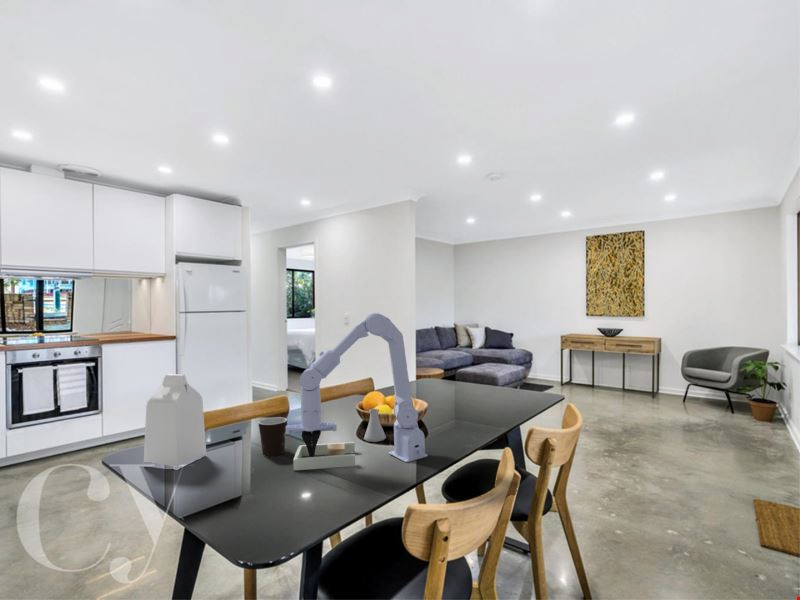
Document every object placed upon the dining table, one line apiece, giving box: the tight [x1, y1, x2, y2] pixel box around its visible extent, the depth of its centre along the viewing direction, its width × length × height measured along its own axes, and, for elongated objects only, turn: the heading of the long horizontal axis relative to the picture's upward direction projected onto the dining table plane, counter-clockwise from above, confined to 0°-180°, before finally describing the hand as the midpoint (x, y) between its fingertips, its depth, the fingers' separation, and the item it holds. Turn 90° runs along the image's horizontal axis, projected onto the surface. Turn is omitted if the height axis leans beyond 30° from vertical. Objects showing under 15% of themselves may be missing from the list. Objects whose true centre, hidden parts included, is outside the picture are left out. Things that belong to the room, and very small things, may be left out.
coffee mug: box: [258, 416, 288, 457], centre depth 128 cm, size 12×9×10 cm
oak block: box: [326, 442, 346, 456], centre depth 120 cm, size 5×5×4 cm
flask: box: [363, 408, 387, 443], centre depth 138 cm, size 7×7×10 cm
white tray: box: [292, 441, 356, 471], centre depth 119 cm, size 17×12×3 cm
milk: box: [143, 373, 207, 466], centre depth 122 cm, size 12×12×26 cm
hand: (312, 456), depth 119 cm, fingers closed
